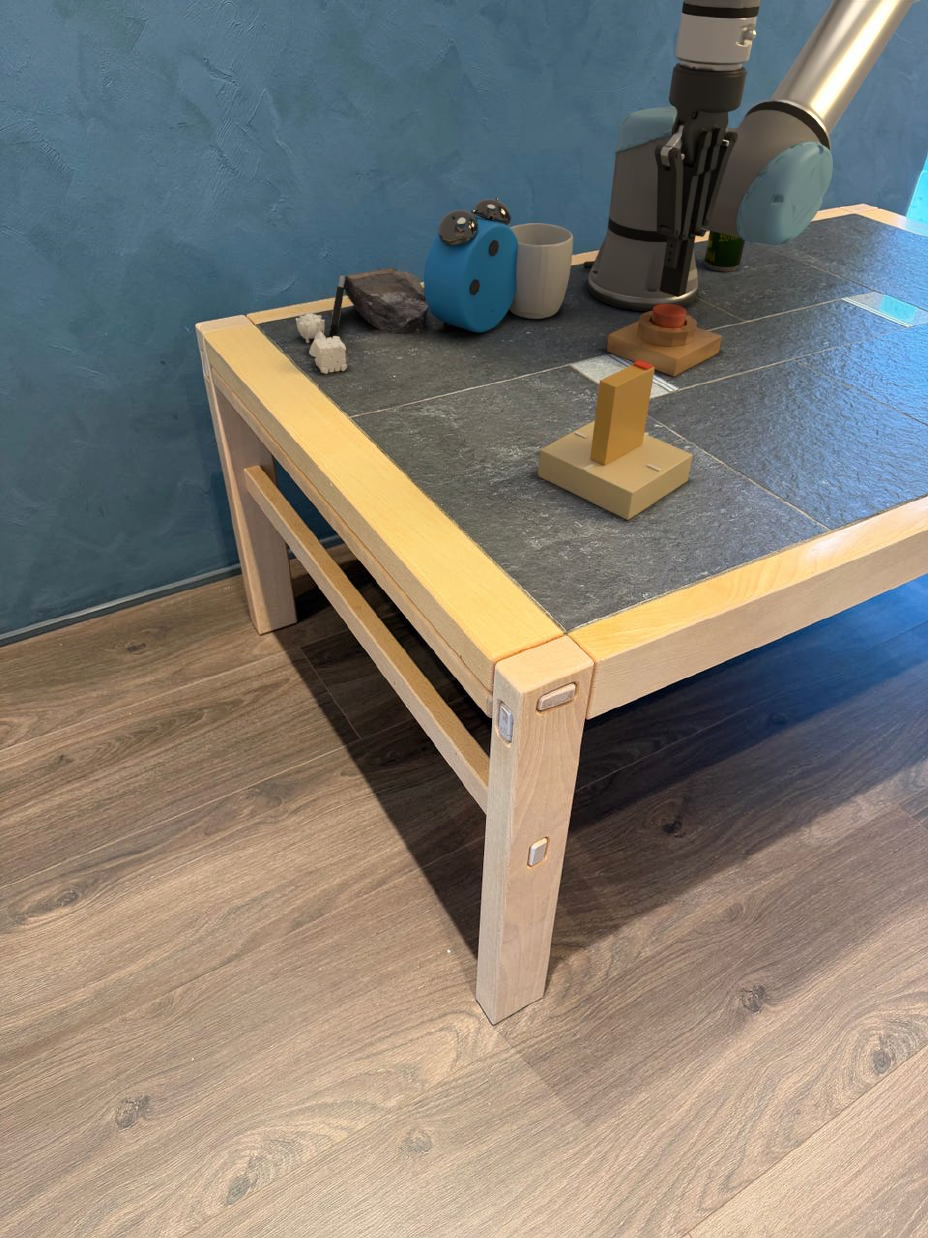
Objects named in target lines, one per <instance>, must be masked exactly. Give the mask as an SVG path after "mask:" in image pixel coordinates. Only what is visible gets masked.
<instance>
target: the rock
mask: <svg viewBox="0 0 928 1238" xmlns="http://www.w3.org/2000/svg"><path fill="white" fill-rule="evenodd" d="M420 280H421V279H420V278H418V277H417V276H415V275H414V274H412V273H411V272H409V271H407V270H398V269H396V268H394V267H390V268H383V269H382V268H378V269H376V270H370V271H366V272H359V273H351V274H347V275H345V278H344V285H343V288H344V294H345V295H346V296H347V299H348V300H349V301H350V303H351V304H352V305H353V306H354V308H355V309H356V311H357V313H358V314H359V315H360V316H361V317H362V318H363V319H364V320H366V321H367V322H368V323H369V324H371V325H372V326H373V327H375V328H377V329H379V330H380V332H383V333H385V334H389V335H404V336H405V335H422V334H423V333H425V326H426V321H427V317H428V311H429V307H428V304H427V302H426V298H425V292H424V286H423V285H422V284H421V282H420Z"/></svg>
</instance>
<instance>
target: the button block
mask: <svg viewBox="0 0 928 1238" xmlns="http://www.w3.org/2000/svg"><path fill="white" fill-rule="evenodd" d="M652 313H653V311H645V312H644V313H642V314H640V315H639V319H638V321H635V322H633V323H631V324H628V325H626V326H624V327H622V328H620V329H617V330H615V331H613V332H611V333H609V334H608V337H607V347H606V352H607V353H610V354H613V355H616V356H619V357H621V358H623V359H626V360H629V361H631V362H633V363H635V362H637V361H639V360H641V361H644V362H646V363H649V364H652V365H653V367H655V370H656V371H658V372H661V373H663V374H666V375H669V376H671V377H675V376H677V375H679V374H681V373H683V372H685V371H687V370H689V369H691V368H693V367H695V366H696V365H698V364H700V363H702V362H704V361H706V360H707V359H710V358H711V357H713V356H716V354H719V353H720V348H721V345H722V344H721V343H722V340H723V339H722V338H723V335H721V334H719V333H716V332H713V331H709V330H707V329H704V328H700V327H697V324H698V321H697V320H696V319H695V318H694V317H692V316H691V315H689V314H686V318H685V323H684V326H683V327H681V328H673V329H672V328H663V327H659V326H656V325H653V324H652V323H651V319H652ZM655 370H654V371H655Z"/></svg>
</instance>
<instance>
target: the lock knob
mask: <svg viewBox="0 0 928 1238" xmlns="http://www.w3.org/2000/svg"><path fill="white" fill-rule="evenodd" d="M654 375H655V367H653V365H652V364H649V363H646V362H644V361H641V360H639V361H637V362H633V364H631V365H629V366H627V367H625V368H623V369H621V370H619V371H616V372H614V373H612V374H610V375H608V376H606V377H603V378H602V379H600V380H599V384H598V391H597V392H598V393H597V399H596V408H595V415H594V421H595V423H594V431H593V440H592V448H591V456H590V459H592V460H594V461H596V462H599V463H601V464H603V465H606V464H608V463H610V462H612V461H613V460H615V459H617V458H619V457H620V456H622V455H624V454H626V453H628V452H629V451H631V450H633V449H635V448H636V447H638V446H640V445H642V443H643V437H644V433H645V432H646V424H647V418H648V413H649V406H650V400H651V394H652V389H653V381H654Z"/></svg>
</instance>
